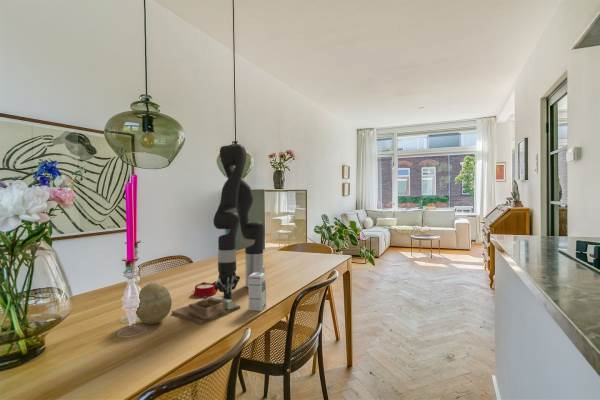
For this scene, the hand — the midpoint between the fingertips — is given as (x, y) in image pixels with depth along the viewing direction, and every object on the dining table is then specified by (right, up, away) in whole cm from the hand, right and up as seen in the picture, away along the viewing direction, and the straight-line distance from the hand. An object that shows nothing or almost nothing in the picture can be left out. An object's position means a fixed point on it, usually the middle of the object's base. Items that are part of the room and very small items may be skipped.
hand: (227, 301), depth 140 cm
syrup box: (+13, -3, -1) cm, 13 cm away
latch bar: (-2, -1, -2) cm, 3 cm away
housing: (-8, -3, -4) cm, 9 cm away
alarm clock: (-15, -3, +22) cm, 26 cm away
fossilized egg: (-24, -4, -15) cm, 29 cm away
